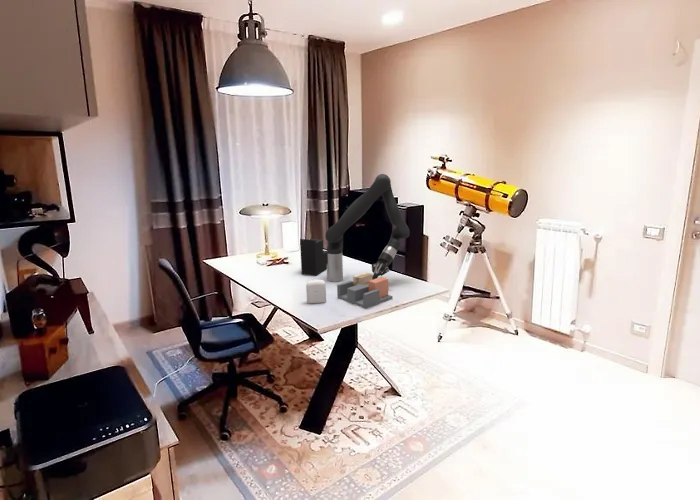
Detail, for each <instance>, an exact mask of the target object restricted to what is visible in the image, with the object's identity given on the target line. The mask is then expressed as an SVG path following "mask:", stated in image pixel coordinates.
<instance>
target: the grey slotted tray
mask: <svg viewBox="0 0 700 500" xmlns="http://www.w3.org/2000/svg"><path fill="white" fill-rule="evenodd" d="M336 293H337V294H336V295H337V299H340V300H342V301H344V302H347V303H350V304H352V305H355V306H357V307H360V308H363V309H366V310H367V309H369V308H372V307H374V306H377V305H380V304H383V303H384V302H387V301H390V300H393V295H390V294H388V295H386V296H384V297H381V298H380V290H378V289H376V290H373V291H370V292H369V286H366V285H363V284H359V285H356V286H353V280H348V281H345V282H342V283H338V284H336Z"/></svg>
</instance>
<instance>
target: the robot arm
mask: <svg viewBox="0 0 700 500" xmlns="http://www.w3.org/2000/svg"><path fill="white" fill-rule="evenodd" d="M381 196H382V199H383V201H384V204H385V205H384V207H385V210H386V213H387V215H388V219H389V221H390V223H391V224H392V225H393V226H395V227H394V228H393V229H392V232H391V235H390V239H389V241H388V242H387V244H386V246H385V247H384V249H383V250H382V252H381V254H380V255H379V257H378V258H377V261H376V263H372V264H371V273H373V274H372V280H373V279H376V278H379V277H383V276H384V275H385V274H387V273H388V272H390V269H389V266H390V265H391V264H392V262H393V260H394V259H395V256H396V254H397V252H398V251H399V249H400V247H401V245H402V243H401V242H400V239H404V240H405V239H407V238H409V237H410V232H411V231H410V228H409V226H408V225H407V223H406V222H405V220H404V219H403V216H402V214H401V211H400V209H399V206H398V204H397V201H396V198H395V195H394V194H393V188H392V183H391V178H390V177H389V176H388V175H387V174H385V173H381V174H378V175H377V176H376V177H375V179H374V181H373V183H372V184H371V185H370V187H369V188H368V189H367V190H366V192H364V193H363V194H361V195H360V196H359V197H357V198H356V199H355V200H353V202H352V203H351V204H350V205H349V206H348V208H346V210H345V211H344V212H343V214H342V215H341V217H340V218H339V219H338V220H337V221H336V222H335V223H334V224H333V225H332V226H330V227H329V228H328V229H327V230H326V232H325V235H324V236H325V240H326V241H327V249H326V251H327V261H328V264H327V269H326V280H327V281H329V282H334V283H335V282H342V281H343V280H344V274H343V273H344V267H343V266H344V265H343V264H344V263H343V261H344V260H343V249H344V234H345V233H346V231H347V230H349V228H350V227H351V226H353V225H354V224H355V223H357V221H359V219H361V218H362V217H363V216H364V215H365V214H366V213H367V212H368V210H369V209H370V208H371V207H372V206H373V204H374V203H375V202H376V200H378V199H379V198H380V197H381Z"/></svg>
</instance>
